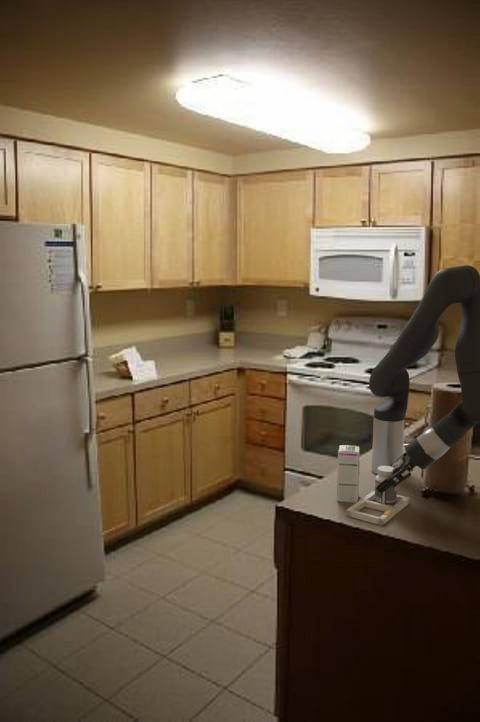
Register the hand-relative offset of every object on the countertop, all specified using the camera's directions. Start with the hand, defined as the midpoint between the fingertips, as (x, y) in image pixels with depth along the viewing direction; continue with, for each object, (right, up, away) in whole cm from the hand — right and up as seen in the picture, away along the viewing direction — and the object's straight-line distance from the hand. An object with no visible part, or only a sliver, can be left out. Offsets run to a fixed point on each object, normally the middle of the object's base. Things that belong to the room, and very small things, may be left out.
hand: (379, 486), depth 170 cm
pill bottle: (+2, -5, 0) cm, 5 cm away
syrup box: (-8, -4, +4) cm, 10 cm away
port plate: (-1, -5, -3) cm, 6 cm away
